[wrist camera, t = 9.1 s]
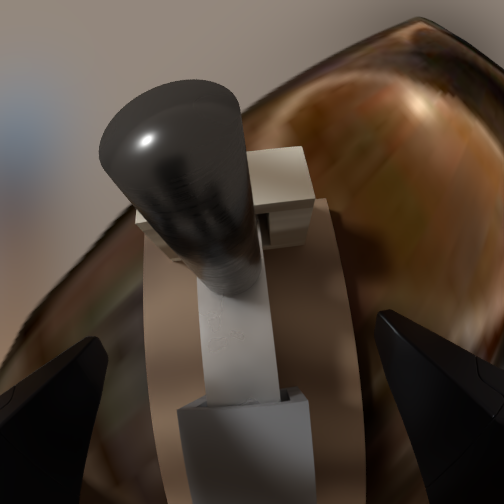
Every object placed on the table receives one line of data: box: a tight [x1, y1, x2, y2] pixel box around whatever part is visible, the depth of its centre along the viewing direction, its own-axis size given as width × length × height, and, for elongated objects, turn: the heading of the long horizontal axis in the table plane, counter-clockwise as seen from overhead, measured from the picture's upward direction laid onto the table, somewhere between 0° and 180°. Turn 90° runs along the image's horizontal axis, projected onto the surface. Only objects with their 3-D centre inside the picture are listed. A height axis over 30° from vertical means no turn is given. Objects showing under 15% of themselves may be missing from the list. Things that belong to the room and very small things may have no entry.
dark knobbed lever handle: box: [99, 80, 281, 407], centre depth 9 cm, size 15×3×11 cm, turn 6°
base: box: [135, 146, 366, 504], centre depth 12 cm, size 21×12×6 cm, turn 6°
